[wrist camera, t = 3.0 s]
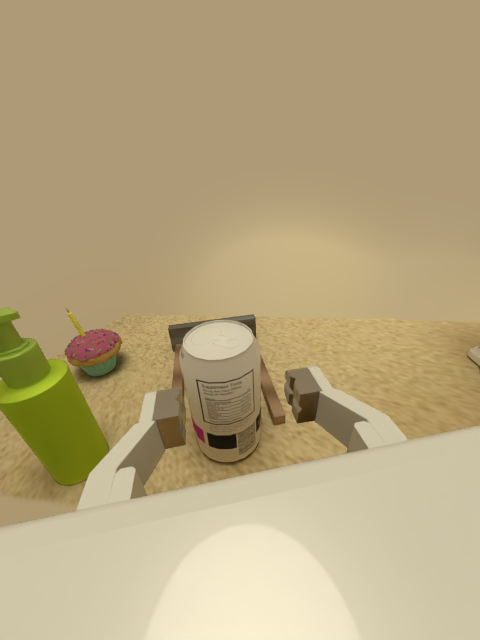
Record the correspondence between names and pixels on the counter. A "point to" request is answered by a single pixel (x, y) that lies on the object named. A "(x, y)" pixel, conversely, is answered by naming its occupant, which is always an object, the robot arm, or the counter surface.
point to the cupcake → (93, 349)
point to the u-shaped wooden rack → (267, 387)
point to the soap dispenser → (47, 407)
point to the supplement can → (223, 388)
